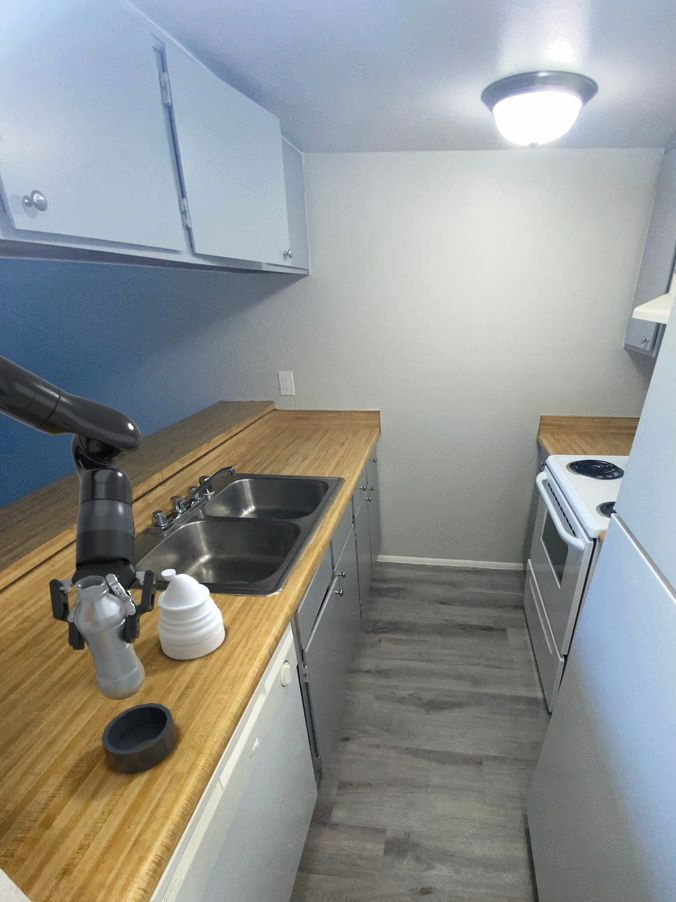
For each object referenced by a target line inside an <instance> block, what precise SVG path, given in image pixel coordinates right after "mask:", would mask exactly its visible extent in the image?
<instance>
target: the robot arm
mask: <svg viewBox="0 0 676 902" xmlns="http://www.w3.org/2000/svg"><path fill="white" fill-rule="evenodd" d="M0 414H2V415H4V416H6V417H8V418H11V419H12V420H14V421H16V422H19V423H21V424H23V425H25V426H27V427H29V428H32V429H33V430H36V431H37V432H40V433H43V434H45V435H47V436H58V435H64V434H65V435H66V434H72V437H71V442H70V452H71V453H70V454H71V456H72V457H71V458H72V460H73V464H74V468H75V472H76V475H77V477H78V480H79V492H78V493H79V494H78V496H79V498H78V512H77V517H76V529H75V530H76V531H75V563H74V564H75V570H74V573H73V575H72V576H71V577H70V578H66V579H65V578H64V579H57V578H53V579H51V580H49V583H48V585H49V593H50V594H49V595H50V601H51V603H50V604H51V610H52V618H53V619H54V620H56V621H61V622H64V623H67V625H68V636H67V637H68V638H67V643H68V645H69V647H72V650H74V651H83V650H85V648H86V647H85V646H86V645H85V644H86V642H85V640H84V639H83V637H82V635H81V634H80V632H79V631H78V629H77V627H76V625H75V623H74V612H75V610H76V608H77V605H78V603H79V602H80V600H79V599H78V598H77V597H75V600H74V601H73V606H72V608H71V610H70V604H69V603H70V601H69V594H71V592H72V588H73V587H75V584H76V583H77V582H78V581H79V580H81V579H83V578H86V577H90V576H101V577H103V578H104V579H105V581H106V585H107V586H108V588H109V592H108V593H110V594H112V595H114V596H115V597H117V598H118V599H119V600H120V601H121V602H122V603H123V604H124V606H125V610H126V616H127V617H125V618H126V620H125V641H126V643H128V644H135V643H136V640H137V639H139V638H140V635H141V627H140V626H141V624H140V623H141V620H140V619H141V616H142V615H144V614H146V613H151V612H153V611H154V608H155V602H156V593H157V586H158V578H159V576H158V574H157V573H156V572H155V571H153V570H151V569H147V570H145V571H137V569H136V566H135V563H136V562H135V535H136V528H135V518H134V512H133V484H132V479H131V477H130V475H129V474H127V473H126V471H123V470H121V469H118V468H116V466H117V461H119V460H121V459H123V458H126V457H127V456H129V455H131V454H133V453H135V452H136V451H137V450H138V449H139V448H140V447H141V446H142V442H143V436H142V431H141V429H140V428H139V426H138V424H137V423H136V422H135V421H134V420H133V419H132V418H131V417H130V416H128V415H127V414H126V413H124V412H123V411H120V410H119V409H116V408H114V407H112V406H109V405H107V404H104V403H100V402H97V401H95V400H91V399H89V398H86V397H83V396H79V395H76V394H72V393H70V392H67V391H65V390H64V389H62V388H61V387H59V386H57V385H55V384H53V383H51V382H49V380H46V379H44V377H43V378H42V377H41V376H39V375H37V374H35V373H34V372H33V371H30V370H28V369H26V368H25V367H22V366H21V365H19V364H17V363H16V362H14V361H12V360H10V359H8V358H7V357H4V356H3V355H1V354H0ZM137 580H138V581H139V585H141V586H142V590H141V595H140V596H141V598H140V603H139V604H137V603H136V600H135V599H134V597H133V595H132V593H131V592H130V589H131V588H133V586H134V584H135V583H136V582H137Z"/></svg>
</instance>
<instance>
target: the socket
mask: <svg viewBox="0 0 676 902" xmlns="http://www.w3.org/2000/svg"><path fill="white" fill-rule="evenodd" d="M177 732H178V731H177V728H176V724H175V721H174V717H173V715H172V713H171V710H170V709H169V708H168V707H167V706H165V705H163V704H162V703H155V702H147V703H142V704H141V703H140V704H137V705H134V706H132V707H129V708H126V709H124V710H123V711H122V712H120V713H119V714H117V715H115V717H113V718H112V719H111V720H110V721H109V723H108V724H107V725H106V726H105V728H104V730H103V732H102V735H101V738H100V740H101V744H102V746H103V750H104V752H105V755H106V757H107V760H108V762H109V765H111V767H112V768H113V769H114V770H116V771H118V772H121V773H125V774H126V773H127V774H131V773H133V774H134V773H139V772H143V771H146V770H148V769H150V768H152V767H154V766H156V765H158V764H159V763H161V762H162V761H163V760H164V759H166V757H168V756H169V754H170V753H171V752H172V751H173V749H174V747H175V745H176V743H177V739H178V738H177V737H178V735H177Z"/></svg>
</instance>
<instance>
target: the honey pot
mask: <svg viewBox="0 0 676 902" xmlns="http://www.w3.org/2000/svg"><path fill="white" fill-rule="evenodd" d="M161 577H162V578H163V579H164V580H165V581H167V582H169V583H168V585H167V587H166V589H165V590H164V591H163V592H162V593H161V594H159V596H158V598H157V606H158V607H159V609H160V610H159V617H158V623H157V633H158V638H159V642H160V645H161V649H162V652H163V653H164V655H166V656H167V657H169V658H172V659H175V660H181V661H182V660H183V661H185V660H193V659H194V660H195V659H197V658H201V657H204V656H206V655H209V654H210V653H212V652H213V651H215V650H217V648H219V647H220V646H221V645H222V643H223V642H224V641H225V638H226V632H225V626H224V620H223V614H222V612H221V610H220V608H218V606H217V604H216V603H215V600H214V599H213V598H212V597H211V596H210V594H211V593H210V590H209V588H208V587H207V586H205V584H201V583H200V582H199V581H197V580H196V579H195V578H194V577H192V576H190V575H189V574H186V573H179V574H177V572H176V569H173V568H167V569H165V570H162V571H161Z"/></svg>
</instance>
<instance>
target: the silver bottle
mask: <svg viewBox="0 0 676 902" xmlns="http://www.w3.org/2000/svg"><path fill="white" fill-rule="evenodd" d="M74 589H75V592H76V593H75V594H76V598H78V599H79V600H80V602H79V603H78V605H77V608H76V610H75V612H74V623H75V625H76V627H77V629H78V631H79V632H80V634H81V635H82V637H83V639H84V640H85V644H86V646H87V648H88V651H89V653H90V656H91V658H92V662H93V666H94V672H95V681H96V682H95V683H96V687H97V689H98V690H99V692H100V693H101V695H102V696H103V697H105V698H106V699H109V700H112V701H122V700H125V699H126V700H127V699H128V698H131V697H133V696H134V695H135V694H137V693H138V692H139V691H140V690H141V688H142V687H143V686H144V684H145V682H146V672H145V668H144V666H143V664H142V662H141V660H140V658H139V657H138V655H137V653H136V651H135V649H134V647H133V643H131V644H128V643H126V641H125V620H126V618H125V617H127V612H126V610H125V606H124V604H123V603H122V602H121V601H120V600H119V599H118V598H117V597H115V596H114V595H112V594H110V593H108V592H109V588H108V586H107V585H106V581H105V579H104V578H103V577H101V576H90V577H86V578H83V579H81V580H79V581H78V582H77V583H76V584H75V586H74Z"/></svg>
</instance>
